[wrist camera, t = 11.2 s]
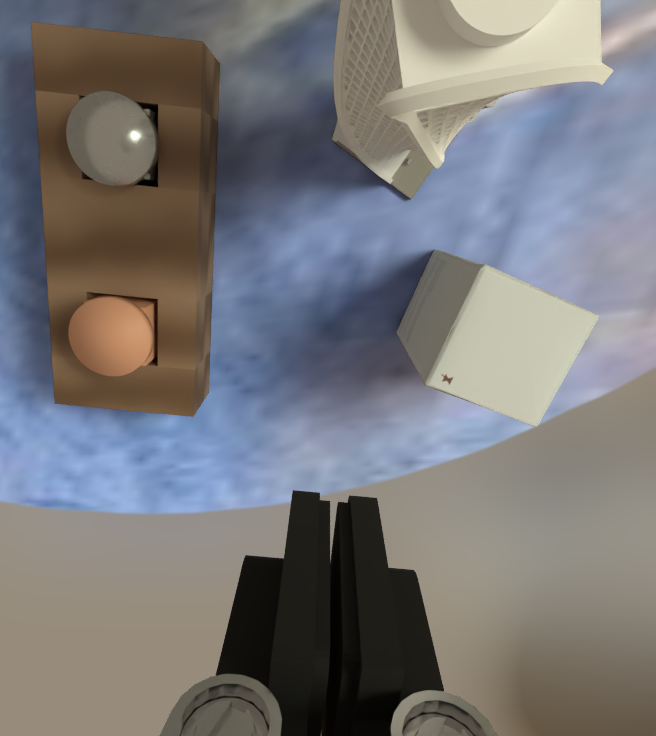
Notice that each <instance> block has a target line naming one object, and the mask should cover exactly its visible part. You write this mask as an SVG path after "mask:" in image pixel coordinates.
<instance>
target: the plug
mask: <svg viewBox="0 0 656 736" xmlns="http://www.w3.org/2000/svg"><path fill="white" fill-rule="evenodd" d="M66 137H67V144H68V148H69V151H70V153H71V155H72V157H73V159H74V161H75V163H76V164H77V165H78V167H79V168H80V169H81V170H82V171H83V172H84V173H85V174H86V175H87V176H89V177H90V178H92V179H93V180H95V181H97V182H99V183H102V184H105V185H110V186H130V185H134V184H137V183H139V182H140V181H142V180H151V181H158V155H159V137H158V114H157V113H155V112H153V111H151V110H150V109H143V107H141V106H140V105H139V104H138V103H136V102H135V101H133V100H131V99H129V98H128V97H126V96H123V95H121V94H119V93H116V92H111V91H99V92H94V93H91V94H89V95H87V96H85V97H84V98H82V99H81V100H80V101H79V102H78V103H77V104H76V105H75V106H74V108H73V109H72V111H71V113H70V115H69V118H68V122H67V128H66Z"/></svg>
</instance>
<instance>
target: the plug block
mask: <svg viewBox="0 0 656 736" xmlns="http://www.w3.org/2000/svg"><path fill="white" fill-rule="evenodd" d="M31 30H32V46H33V62H34V78H35V94H36V110H37V126H38V142H39V158H40V174H41V190H42V206H43V222H44V238H45V254H46V270H47V286H48V302H49V318H50V334H51V350H52V366H53V382H54V398H55V404H65V405H76V406H86V407H97V408H107V409H118V410H129V411H139V412H150V413H160V414H171V415H181V416H192V417H193V416H194V415H195V413H196V412H197V410H198V409H199V407H200V406H201V404H202V402H203V401H204V399H205V398H206V396H207V395H208V393H209V370H210V341H211V311H212V282H213V253H214V223H215V194H216V165H217V135H218V106H219V77H220V63H219V62H218V61H217V59H216V58H215V57H214V55H213V54H212V53H211V52H210V50H209V49H208V48H207V46H206V45H205V44H204V43H203V42H202V41H193V40H184V39H176V38H167V37H158V36H150V35H141V34H132V33H123V32H115V31H106V30H97V29H89V28H80V27H71V26H63V25H54V24H45V23H37V22H31ZM99 91H111V92H116V93H119V94H121V95H123V96H126V97H128V98H129V99H131V100H133V101H135V102H136V103H138V104H139V105H140V106H141V107H143V109H150V110H151V111H153V112H155V113H157V114H158V137H159V155H158V187H152V186H143V185H130V186H110V185H105V184H102V183H99V182H97V181H95V180H93V179H92V178H90V177H89V176H87V175H86V174H85V173H84V172H83V171H82V170H81V169H80V168H79V167H78V165H77V164H76V163H75V161H74V159H73V157H72V155H71V153H70V151H69V148H68V144H67V137H66V128H67V122H68V118H69V115H70V113H71V111H72V109H73V108H74V106H75V105H76V104H77V103H78V102H79V101H80V100H81V99H82V98H84V97H85V96H87V95H89V94H91V93H94V92H99ZM102 294H112V295H122V296H132V297H142V298H152V299H158V355H157V356H156V357H155V358H154V359H153V360H152V361H151V362H149V363H148V364H147V365H146V366H140V367H138V368H137V369H136V370H134V371H133V372H131V373H129V374H126V375H122V376H105V375H102V374H98V373H96V372H94V371H92V370H90V369H89V368H87V367H86V366H85V365H84V364H83V363H81V361H80V360H79V359H78V358H77V357H76V355H75V354H74V352H73V350H72V348H71V345H70V341H69V335H68V329H69V324H70V320H71V318H72V316H73V314H74V313H75V311H76V310H77V309H78V308H79V307H80V306H82V305H83V304H84V302H85V301H87V300H90V299H92V298H95V297H97V296H100V295H102Z"/></svg>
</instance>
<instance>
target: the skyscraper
mask: <svg viewBox="0 0 656 736" xmlns="http://www.w3.org/2000/svg"><path fill="white" fill-rule="evenodd" d="M612 72H613V70H612V69H611V68H609V67H608V66H606V65H604V64H603V63H602V61H601V15H600V0H341V4H340V11H339V18H338V25H337V35H336V45H335V55H334V79H333V82H334V100H335V106H336V112H337V117H338V121H337V124H336V128H335V131H334V135H333V138H332V141H333V142H335V143H336V144H337V145H339V146H340V147H341V148H343V149H344V150H345V151H347V152H348V153H349V154H351V155H352V156H353V157H355V158H356V159H357V160H359V161H360V162H361V163H363V164H364V165H365V166H367V167H368V168H369V169H371V170H372V171H373V172H374V173H376V174H377V175H378V176H380V177H381V178H382V179H384V180H385V181H387V182H388V183H389V184H391V185H392V186H393V187H395V188H396V189H397V190H399V191H400V192H401V193H403V194H404V195H405V196H407V197H408V198H409V199H412V198H413V196H414V195H415V193H416V192H417V191H418V189H419V188H420V186H421V185H422V183H423V182H424V181H425V179H426V178H427V176H428V175H429V174H430V172H431V171H432V169H433V168H434V167H435V168H437V169H438V168H439V167H440V166H441V165H442V163H443V162H444V152H445V151H446V149H447V148H448V146H449V145H450V144H451V142H452V141H453V139H454V138H455V136H456V135H457V134H458V132H459V131H460V129H461V128H462V127H463V126H464V125H465V124H466V123H467V122H468V121H472V122H473V120H474V119H475V117H476V116H477V115H478V113H479V112H480V110H482V109H484V108H488V107H493V106H494V104H495V103H496V101H497V100H498V98H500V97H502V96H505V95H507V94H510V93H514V92H518V91H523V90H527V89H532V88H537V87H542V86H547V85H552V84H559V83H568V82H578V81H593V82H597V83H599V84H601V85H603V83H604V82H605V81H606V80H607V78H608V77H609V76H610V74H611V73H612Z"/></svg>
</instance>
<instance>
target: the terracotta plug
mask: <svg viewBox="0 0 656 736" xmlns="http://www.w3.org/2000/svg"><path fill="white" fill-rule="evenodd" d="M68 335H69V341H70V345H71V348H72V350H73V352H74V354H75V355H76V357H77V358H78V359H79V360H80V361H81V363H83V364H84V365H85V366H86V367H87V368H89V369H90V370H92V371H94V372H96V373H98V374H102V375H105V376H122V375H126V374H129V373H131V372H133V371H134V370H136V369H137V368H138V367H140V366H146V365H147V364H148V363H149V362H151V361H152V360H153V359H154V358H155V357H156V356H157V355H158V299H152V298H142V297H132V296H122V295H112V294H102V295H100V296H97V297H95V298H92V299H90V300H87V301H85V302H84V304H83V305H82V306H80V307H79V308H78V309H77V310H76V311H75V313H74V314H73V316H72V318H71V320H70V324H69V329H68Z"/></svg>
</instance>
